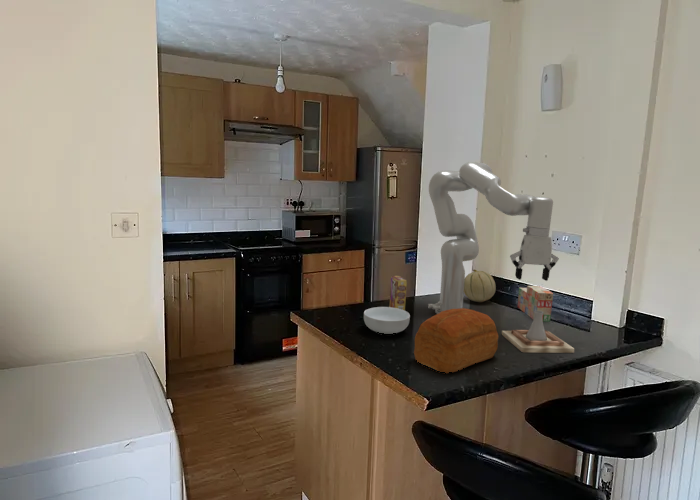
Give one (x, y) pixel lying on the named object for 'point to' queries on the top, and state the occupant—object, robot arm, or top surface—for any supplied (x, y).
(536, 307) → the stack of blocks
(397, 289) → the candy box
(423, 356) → the bread
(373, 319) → the cereal bowl
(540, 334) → the flask
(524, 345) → the board
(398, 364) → the top surface
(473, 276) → the cantaloupe
